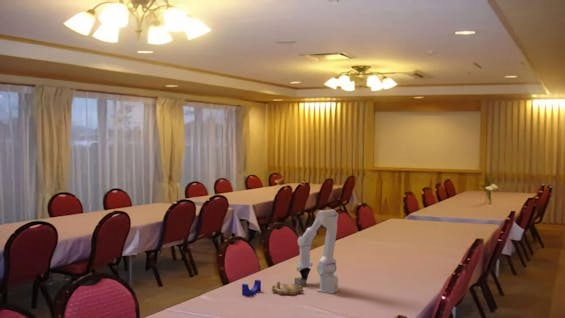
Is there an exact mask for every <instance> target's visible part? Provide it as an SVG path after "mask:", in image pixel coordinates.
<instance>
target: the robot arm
mask: <svg viewBox="0 0 565 318" xmlns="http://www.w3.org/2000/svg"><path fill="white" fill-rule="evenodd" d="M338 218H339V214H338V213H337V211H336V209H324V210H321V209H320V210H318V211H317V213H316V214H315V219H314V221H313V223H312V225H311V226H309V227H307V228H306V230H305V231H304V233H303V234H302V235H301V236H299V237H298V239H297V245H298V247H299V264H297V267H296V272H297V271H298V273H300V276H301V278H304V279H306V282H307V281H308V277H309V274H310V272H311V269H312V267H313V265H314V263H313V262H310V261H311V259H310V258H311V257H310V256H311V255H310V254H311V249H312V248H311V247H312V244H313V240H314V238H315V237H316V236H317V231H318V229H319V228H320V227H321V226H323V227H324V228H325V229H326V232H325V238H324V246H323V253H322V256H321V258H319V260H318V264H316V271H317V274H318V275H319V289H316V291H317V292H322V293H327V294H331V295H332V294H334V293H336V292H338V291H339V278H338V277H339V276H337V275H335V272H336V271H337V260H336V259H335V258H334V253H335V246H336V238H337V233H338ZM310 267H311V268H310Z"/></svg>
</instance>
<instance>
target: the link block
mask: <svg viewBox="0 0 565 318" xmlns="http://www.w3.org/2000/svg"><path fill="white" fill-rule="evenodd" d="M294 284H296V285H297V286H302V287H305V286H307V281H306V279H304V278H302V277H300V276H299V277H294Z"/></svg>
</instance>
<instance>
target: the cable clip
mask: <svg viewBox="0 0 565 318" xmlns="http://www.w3.org/2000/svg"><path fill="white" fill-rule="evenodd" d="M261 283H262V281H261V280H260V279H254V284H253V286H252V287H251V289H250V287H249V284H247V283H242V284H241V296H243V297H248V298H249V297H252V296H255V295H256V294H257V293H259V292H260V293H261V291H262V288H261V287H262V284H261Z"/></svg>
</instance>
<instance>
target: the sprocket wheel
mask: <svg viewBox="0 0 565 318" xmlns="http://www.w3.org/2000/svg"><path fill="white" fill-rule="evenodd" d="M303 288H304V286H298V285H296V284H295V283H289V284H288V283H287V284H286V283H281V281H276V285H275V284H274V285H272V287H271V292H272V293H276V292H277V293H276V294H278V295H282V294H290V295H289V296H291V294H293V295H295V294H294V293H297V294H299V293H300V294H301V293H303ZM298 292H299V293H298Z"/></svg>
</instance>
